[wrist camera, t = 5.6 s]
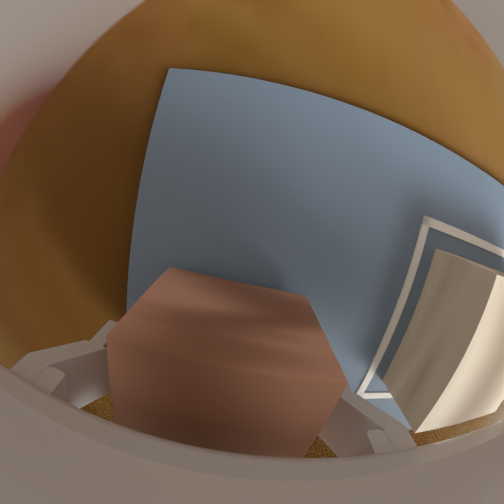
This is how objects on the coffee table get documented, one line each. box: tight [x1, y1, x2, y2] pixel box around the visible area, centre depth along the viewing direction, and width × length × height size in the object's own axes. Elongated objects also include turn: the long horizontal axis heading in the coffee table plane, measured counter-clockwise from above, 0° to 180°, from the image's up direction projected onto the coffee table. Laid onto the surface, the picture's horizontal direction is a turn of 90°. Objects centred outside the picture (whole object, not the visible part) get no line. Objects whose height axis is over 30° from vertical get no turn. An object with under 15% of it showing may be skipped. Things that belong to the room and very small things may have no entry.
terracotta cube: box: [106, 267, 348, 458], centre depth 8 cm, size 5×5×5 cm
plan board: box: [126, 68, 504, 437], centre depth 11 cm, size 22×16×1 cm
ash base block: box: [382, 248, 504, 433], centre depth 9 cm, size 7×7×4 cm
